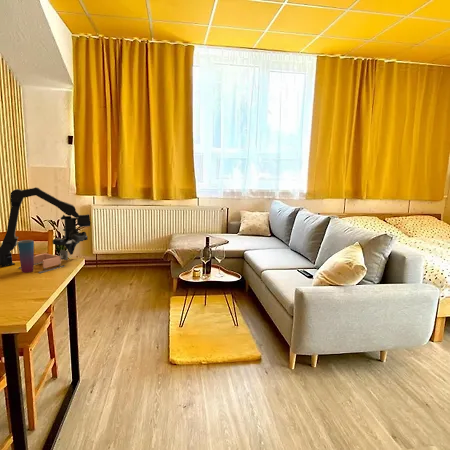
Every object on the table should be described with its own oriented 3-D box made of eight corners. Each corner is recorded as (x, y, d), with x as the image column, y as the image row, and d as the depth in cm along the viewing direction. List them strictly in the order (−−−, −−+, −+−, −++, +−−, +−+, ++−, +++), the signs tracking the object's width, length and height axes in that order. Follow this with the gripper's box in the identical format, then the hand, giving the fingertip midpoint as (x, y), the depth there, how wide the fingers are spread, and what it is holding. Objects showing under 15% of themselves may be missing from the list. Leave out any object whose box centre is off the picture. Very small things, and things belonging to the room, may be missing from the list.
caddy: (57, 258, 185) (57, 248, 184) (72, 262, 180) (72, 251, 179) (28, 266, 170) (28, 255, 169) (44, 269, 165) (44, 258, 164)
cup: (38, 269, 166) (36, 240, 164) (29, 273, 160) (27, 243, 157) (25, 268, 167) (24, 239, 165) (16, 272, 160) (14, 242, 158)
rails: (18, 268, 167) (18, 267, 167) (44, 261, 180) (44, 260, 180) (39, 273, 161) (39, 272, 160) (64, 266, 173) (64, 265, 173)
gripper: (65, 231, 171) (67, 260, 174) (94, 226, 188) (94, 253, 191) (51, 228, 176) (52, 257, 179) (80, 224, 193) (81, 250, 195)
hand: (71, 254), depth 186 cm, fingers closed
